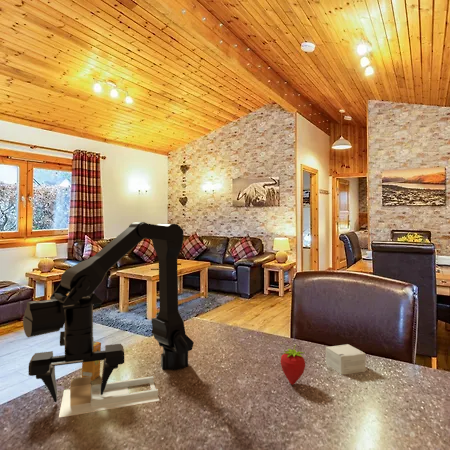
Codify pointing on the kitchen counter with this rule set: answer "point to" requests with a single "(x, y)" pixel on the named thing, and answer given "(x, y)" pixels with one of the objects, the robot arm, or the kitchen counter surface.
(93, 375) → the supplement box
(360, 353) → the small box
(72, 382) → the wooden block
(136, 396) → the trough
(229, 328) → the kitchen counter surface
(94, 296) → the robot arm
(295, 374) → the strawberry
